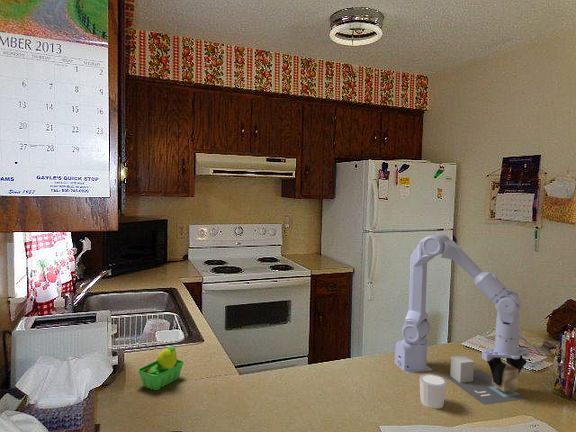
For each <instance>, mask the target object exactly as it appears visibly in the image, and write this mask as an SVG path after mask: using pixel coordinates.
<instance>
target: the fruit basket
mask: <svg viewBox="0 0 576 432" xmlns="http://www.w3.org/2000/svg"><path fill="white" fill-rule="evenodd" d="M176 351H177V350H176V347H174V346H172V345H169V346H167V347H166V348H165V349H163V350H162V351H160V352H159V353H158V355H157V356H156V360H155V361H153V362H151V363H149V364H147V365H144V366H142V367H140V368H138V369H137V372H138V374H139V376H140V380H141V383H142V386H143V387H144V388H147V389H149V388H150V389H149V390H153V389H154V391H155V390H157V391H159V390H160V389H162V388H164V387H165V385H166V386H167V385H169V384H171V383H172V382H174V381H176V380H178V379H179V378H180V374H181V371H182V367H183V365H184V363H185V361H184V360H181V359H178V356H177V352H176ZM161 387H162V388H161Z"/></svg>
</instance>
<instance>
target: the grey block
mask: <svg viewBox="0 0 576 432" xmlns="http://www.w3.org/2000/svg"><path fill="white" fill-rule="evenodd" d="M474 366H475V361H474V360H473V359H470V358H469V357H468V356H465V355H456V356H455V355H454V356H450V372H449V373H450V376H451V377H453V378H454V379H455V380H457V381H458V382H460V383H463V382H471V381H473V372H474V370H475V367H474Z"/></svg>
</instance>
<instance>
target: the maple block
mask: <svg viewBox="0 0 576 432" xmlns="http://www.w3.org/2000/svg"><path fill="white" fill-rule="evenodd" d="M504 363H505V364H506V366H505V368H504V371H503V375H502V382H501V385H497V384H496V383H494V381H493V377H492V376H491V377H492V385H494V386H496V387H497V388H499V389H500V390H502V391H503V392H507V391H518V383H519V375H518V370H519V369H517V368H515V367H513V366H512V365H510V364H508V363H507V361H505V362H504Z"/></svg>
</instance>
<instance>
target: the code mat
mask: <svg viewBox="0 0 576 432" xmlns="http://www.w3.org/2000/svg"><path fill="white" fill-rule="evenodd" d="M441 375H442V376H444V377H445V378H446V379H448V380H449V381H451V382H452V383H453V384H455V385H456V386H458V387H459V388H461V390H463V391H464V392H466V393H467V394H469V395H470V396H471V397H473V398H474V399H476V401H479V402H480V403H481V404H483V405H484V406H486V405H492V404H501V403H507V402H514V401H521V400H527V399H528V398H527V397H525V396H524V395H522V394H521V393H519V392H517V390H515V391H507V392H503V391H502V390H500V389H499V388H497V387H496V386H494V385H492V375H490V374H488V373H486V372H485V371H484V370H481V368H480V369H474V372H473V381H471V382H463V383H460V382H458V381H457V380H455V379H454V378H453V377H451V376H450V372H448V373H447V372H446V373H441Z"/></svg>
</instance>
